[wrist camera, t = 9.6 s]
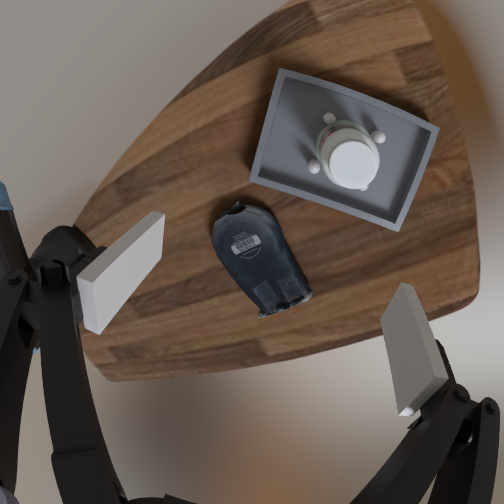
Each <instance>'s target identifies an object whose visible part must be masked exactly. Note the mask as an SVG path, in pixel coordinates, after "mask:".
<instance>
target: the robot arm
mask: <svg viewBox="0 0 504 504" xmlns="http://www.w3.org/2000/svg"><path fill="white" fill-rule="evenodd" d="M164 221H165V214H163V213H159V212H155V211H152V212H150V213H149V214H148V215H147V216H145V217H144V218H143V219H142V220H140V221H139V222H138V223H137V224H136V225H134V226H133V227H132V228H131V229H130V230H128V231H127V232H126V233H125V234H124V235H122V236H121V237H120V238H119V239H118V240H117V241H115V242H114V243H113V244H112V245H111V246H110V247H108V248H107V247H104V246H100V247H98V248H95V247H94V245H93V244H92V243H91V242H90V241H89V239H88V238H87V237H86V236H84V235H83V234H82V233H81V232H79V231H78V230H76V229H74V228H72V227H69V226H58V227H56V228H54V229H53V230H51V231H50V232H48V233H47V234H46V235H45V236H44V238H43V239H42V242H41V244H40V245H39V246H38V247H37V249H36V250H35V251H34V253H33V254H32V256H31V257H30V258H28V256H27V253H26V250H25V247H24V245H23V242H22V239H21V236H20V233H19V230H18V227H17V223H16V220H15V216H14V212H13V206H11V203H10V200H9V197H8V193H7V190H6V187H5V185H4V184H3V183H2V182H1V181H0V504H19V502H18V500H17V499H16V497H15V496H14V492H15V485H16V478H17V462H18V443H19V433H20V423H21V414H22V408H23V401H24V395H25V389H26V383H27V378H28V373H29V368H30V363H31V358H32V355H33V354H34V353H36V352H37V350H38V348H39V347H40V350H41V351H40V352H41V367H42V379H43V389H44V397H45V405H46V412H47V418H48V424H49V428H50V435H51V440H52V444H53V454H52V455H51V461H52V466H53V471H54V475H55V478H56V482H57V485H58V488H59V492H60V495H61V498H62V501H63V504H196V503H192V502H189V501H185V500H182V499H179V498H176V497H173V496H170V495H167V494H165V496H164V498H153V497H146V498H137V499H132V500H129V501H128V499H127V497H126V495H125V493H124V490H123V488H122V486H121V483H120V481H119V479H118V477H117V475H116V472H115V470H114V467H113V464H112V461H111V459H110V456H109V453H108V450H107V447H106V444H105V441H104V437H103V434H102V431H101V428H100V424H99V421H98V417H97V413H96V409H95V406H94V402H93V398H92V393H91V389H90V385H89V380H88V376H87V371H86V366H85V361H84V355H83V349H82V343H81V337H80V330H79V325H78V324H79V323H80V322H81V321H82V320H83V319H84V324H85V328H86V329H88V330H90V331H92V332H94V333H97V334H99V335H100V334H101V332H102V331H103V330H104V329H105V327H106V326H107V325H108V323H109V322H110V321H111V319H112V318H113V317H114V316H115V314H116V313H117V312H118V310H119V309H120V308H121V307H122V305H123V304H124V303H125V302H126V300H127V299H128V298H129V297H130V295H131V294H132V293H133V292H134V290H135V289H136V288H137V287H138V285H139V284H140V283H141V282H142V281H143V279H144V278H145V277H146V276H147V274H148V273H149V272H150V271H151V270H152V268H153V267H154V266H155V265H156V264H157V262H158V261H159V260H160V259H161V256H162V243H163V232H164ZM380 322H381V326H382V331H383V335H384V340H385V344H386V349H387V354H388V358H389V363H390V368H391V374H392V379H393V384H394V390H395V396H396V402H397V409H398V415H404V416H412V415H414V414H415V413H416V412H417V411H418V410H419V409H420V411H421V416H420V417H419V418H418V419H417V420H415V421H414V422H413V423H412V424H411V425H410V426H409V427H408V429H410V430H409V431H408V433H407V434H406V436H405V437H404V439H403V440H402V441H401V443H400V444H399V445H398V447H397V448H396V450H395V451H394V452H393V453H392V455H391V456H390V457H389V459H388V460H387V461H386V463H385V464H384V465H383V466H382V467H381V469H380V470H379V471H378V472H377V474H376V475H375V476H374V477H373V478H372V479H371V481H370V482H369V483H368V484H367V485H366V486H365V488H364V489H363V490H362V491H361V492H360V493H359V494H358V495H357V496H356V497H355V498H354V499H353V500H352V502H351V503H350V504H419V502H420V501H421V499H422V497H423V496H424V494H425V493H426V491H427V490H428V488H429V486H430V485H431V483H432V481H433V479H434V478H435V476H436V474H437V476H436V479H435V483H434V486H433V489H432V492H431V495H430V498H429V501H428V504H491V499H492V493H493V488H494V481H495V475H496V467H497V459H498V447H499V431H500V429H499V428H500V410H499V407H498V405H497V403H496V402H495V401H494V400H493V399H492V398H489V397H486V398H484V399H483V400H482V401H481V402H480V403H477V402H475V401H473V400H470V395H469V393H468V391H467V390H466V389H465V388H464V387H463V386H462V385H460V384H457V383H456V381H455V378H454V375H453V372H452V369H451V366H450V364H449V361H448V358H447V357H446V356H447V355H446V353H445V350H444V347H443V346H442V345H441V344H440V342H439V341H438V340H436V339H435V338H434V336H433V333H432V330H431V328H430V325H429V323H428V320H427V318H426V315H425V313H424V311H423V308H422V306H421V304H420V301H419V299H418V297H417V294H416V292H415V290H414V288H413V286H412V285H409V284H406V283H402V282H401V284H400V286H399V288H398V289H397V291H396V293H395V295H394V297H393V298H392V300H391V302H390V304H389V305H388V307H387V309H386V311H385V312H384V314H383V316H382V317H381V319H380ZM470 441H471V442H470Z"/></svg>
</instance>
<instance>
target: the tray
mask: <svg viewBox="0 0 504 504" xmlns="http://www.w3.org/2000/svg"><path fill="white" fill-rule="evenodd" d="M337 124H349V125H352V126H354V127H356V128H358V129H359V130H361V131H362V132H364V133H365V134H367V135H368V136H369V137H370V138H371V139H372V140H373V141H374V143H375V145H376V147H377V149H378V152H379V158H380V162H379V168H378V171H377V173H376V175H375V177H374V179H373V180H372V181H371V182H370V183H369V184H368V185H366V186H365V187H362V188H359V189H349V188H345V187H342V186H339V185H337V184H335V183H334V182H332V181H331V180H330V179H329V178H328V177H327V176H326V174H325V173H324V171H323V169H322V167H321V163H320V150H319V144H320V140H321V137H322V135H323V134H324V132H325V131H326V130H327V129H328V128H330V127H332V126H334V125H337ZM439 129H440V128H438V127H436V126H434V125H432V124H431V123H429V122H427V121H425V120H423V119H420V118H418V117H416V116H414V115H412V114H410V113H408V112H406V111H403V110H401V109H399V108H397V107H394V106H392V105H390V104H388V103H385V102H383V101H380V100H378V99H375V98H373V97H370V96H368V95H365V94H363V93H360V92H357V91H355V90H352V89H349V88H346V87H343V86H340V85H337V84H334V83H331V82H328V81H325V80H322V79H319V78H315V77H312V76H309V75H305V74H302V73H298V72H294V71H291V70H287V69H283V68H279V70H278V74H277V77H276V81H275V85H274V88H273V92H272V96H271V99H270V103H269V107H268V110H267V114H266V118H265V121H264V125H263V129H262V133H261V136H260V140H259V144H258V148H257V151H256V155H255V159H254V163H253V167H252V170H251V174H250V178H249V181H250V182H253V183H256V184H260V185H263V186H266V187H270V188H273V189H276V190H279V191H283V192H286V193H289V194H292V195H295V196H298V197H301V198H304V199H307V200H310V201H313V202H316V203H319V204H322V205H325V206H328V207H331V208H334V209H337V210H340V211H343V212H345V213H348V214H351V215H354V216H357V217H359V218H362V219H365V220H368V221H370V222H373V223H376V224H378V225H381V226H384V227H386V228H389V229H391V230H394V231H397V232H399V229H400V227H401V225H402V223H403V221H404V219H405V216H406V214H407V212H408V210H409V207H410V205H411V203H412V200H413V198H414V196H415V193H416V191H417V188H418V186H419V183H420V181H421V178H422V176H423V173H424V171H425V168H426V166H427V163H428V160H429V158H430V155H431V152H432V149H433V147H434V144H435V141H436V138H437V135H438V132H439Z"/></svg>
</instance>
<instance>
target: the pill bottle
mask: <svg viewBox="0 0 504 504" xmlns="http://www.w3.org/2000/svg"><path fill="white" fill-rule="evenodd" d="M319 150H320V163H321V167H322V169H323V171H324V173H325V174H326V176H327V177H328V178H329V179H330V180H331V181H332V182H334V183H335V184H337V185H339V186H342V187H345V188H349V189H359V188H362V187H365V186H366V185H368V184H369V183H370V182H371V181H372V180H373V179H374V177H375V175H376V173H377V171H378V168H379V162H380V158H379V152H378V149H377V147H376V145H375V143H374V141H373V140H372V139H371V138H370V137H369V136H368V135H367V134H365V133H364V132H362V131H361V130H359V129H358V128H356V127H354V126H352V125H349V124H337V125H334V126H332V127H330V128H328V129H327V130H326V131H325V132H324V134H323V135H322V137H321V140H320V144H319Z"/></svg>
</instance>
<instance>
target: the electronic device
mask: <svg viewBox="0 0 504 504" xmlns="http://www.w3.org/2000/svg"><path fill="white" fill-rule="evenodd" d="M241 208H246V209H245V210H244V211H242V212H241V213H238V214H234V215H229V214H230V213H232V212H233V211H235V210H238V209H241ZM212 244H213V247H214V249H215V251H216V254H217V256H218V258H219V260H220V261H221V262H222V264H223V265H224V267H225V268H226V270H227V271H228V273H229V274H230V275H231V277H232V278H233V279H234V280H235V282H236V283H237V284H238V285H239V286H240V288H241V289H242V290H243V292H244V293H245V294H246V295H247V296H248V297H249V298H250V299H251V300H252V301H253V302H254V303H255V304H256V305H257V306H258V307H259V308H260V311H259V313H258V317H259V318H263V317H266V316H269V315H271V314H274V313H276V312H281V311H284V310H288V309H289V308H290V307H291V306H292V307H294V306H297V305H298V304H300V303H303V302H305V301H307V300H309V298H310V297H312V294H313V292H314V291H312V289H311V288H310V287H309V285H308V283H307V282H306V280H305V278H304V275H303V274H302V272H301V270H300V268H299V266H298V264H297V262H296V261H295V259H294V257H293V255H292V253H291V251H290V249H289V247H288V245H287V243H286V242H285V240H284V238H283V233H282V229H281V227H280V225H279V224H278V222H277V221H276V219H275V218H274V217H273V216H272V215H271V214H270V213H269V212H268V211H266V210H264V209H263V208H260V207H258V206H253V205H243V204H239V202H237V203H236V204H235V205H234V206H232V207H230V208H229V209H227V210H226V211H225V212H224V213H222V214H221V215H220V216H219V218H218V219H217V220H216V222H215V224H214V227H213V230H212Z"/></svg>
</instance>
